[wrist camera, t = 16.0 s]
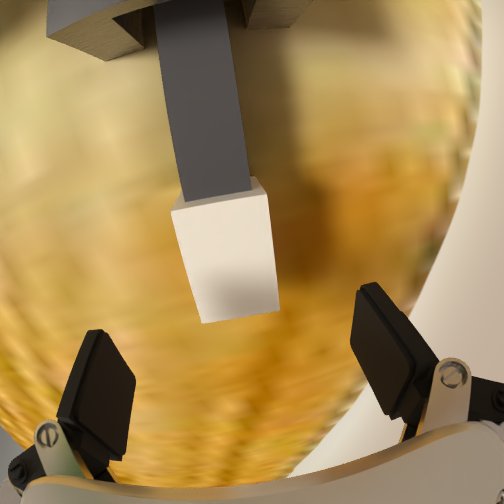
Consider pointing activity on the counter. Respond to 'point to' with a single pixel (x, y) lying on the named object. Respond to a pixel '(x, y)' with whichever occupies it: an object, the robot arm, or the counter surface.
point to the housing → (140, 22)
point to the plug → (213, 167)
